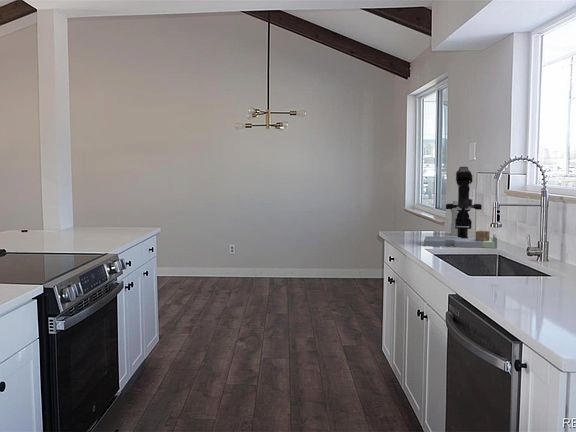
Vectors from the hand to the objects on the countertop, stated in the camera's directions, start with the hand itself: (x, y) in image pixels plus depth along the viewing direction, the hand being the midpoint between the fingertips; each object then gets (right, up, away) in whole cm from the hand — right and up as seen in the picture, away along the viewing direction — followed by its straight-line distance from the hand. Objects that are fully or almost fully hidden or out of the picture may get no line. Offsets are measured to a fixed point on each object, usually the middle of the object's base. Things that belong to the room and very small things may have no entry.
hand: (463, 222), depth 301 cm
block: (+6, -10, -12) cm, 16 cm away
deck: (-4, -12, -5) cm, 14 cm away
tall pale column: (+9, -9, +35) cm, 37 cm away
